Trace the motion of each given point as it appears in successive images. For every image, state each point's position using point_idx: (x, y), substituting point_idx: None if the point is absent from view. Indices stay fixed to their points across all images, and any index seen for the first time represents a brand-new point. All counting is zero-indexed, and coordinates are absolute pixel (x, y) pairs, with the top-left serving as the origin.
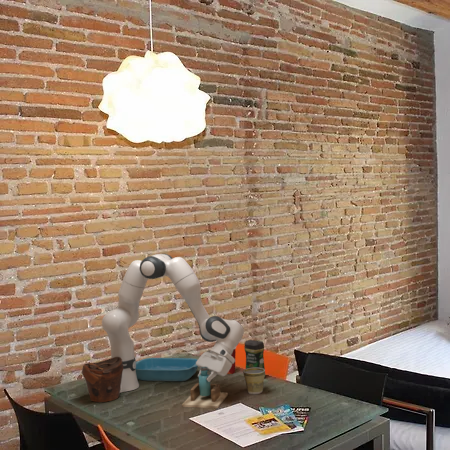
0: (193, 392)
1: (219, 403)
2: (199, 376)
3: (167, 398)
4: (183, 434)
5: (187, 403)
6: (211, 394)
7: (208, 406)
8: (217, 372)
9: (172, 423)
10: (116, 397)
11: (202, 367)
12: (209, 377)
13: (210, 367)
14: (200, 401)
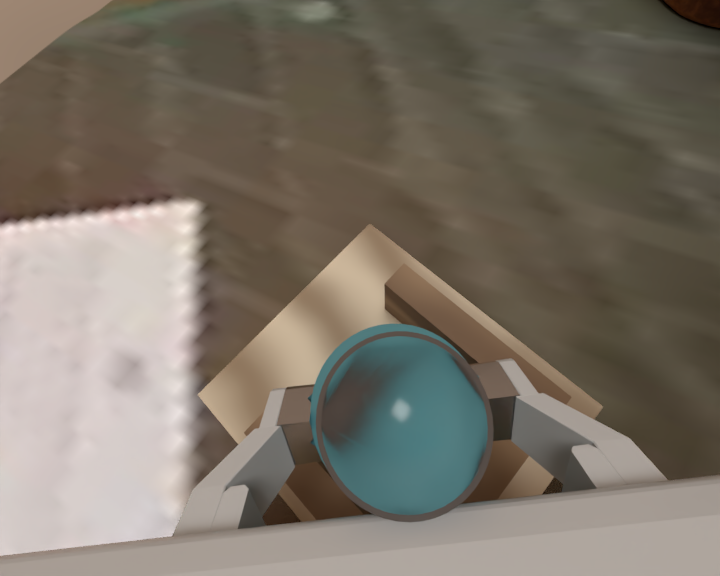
0: (385, 289)
1: (231, 435)
2: (388, 324)
3: (567, 215)
4: (62, 122)
5: (367, 257)
6: None
7: (246, 348)
8: (21, 558)
9: (194, 124)
10: (683, 5)
11: (429, 391)
12: (264, 429)
13: (284, 568)
14: None
